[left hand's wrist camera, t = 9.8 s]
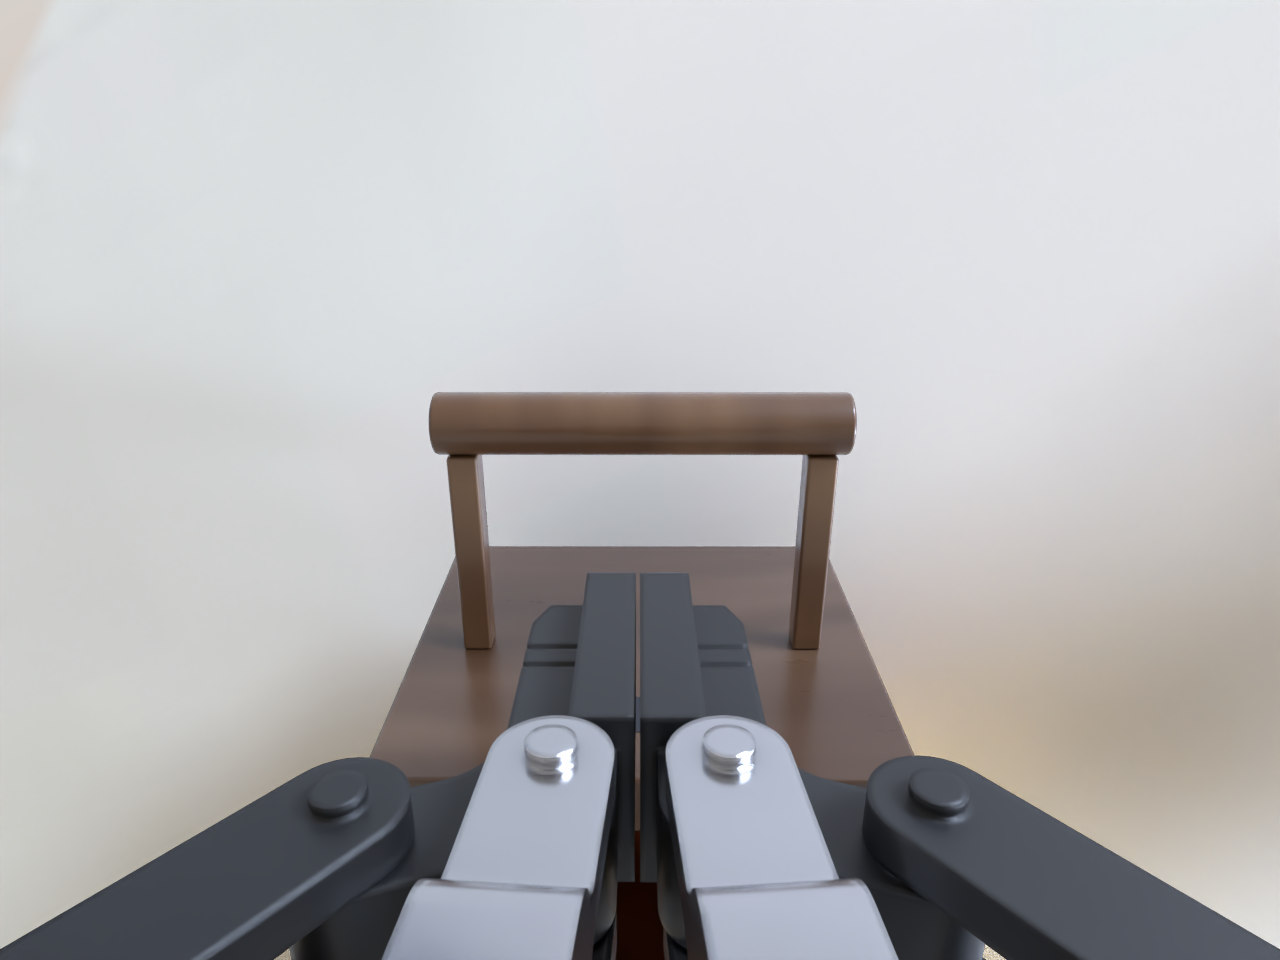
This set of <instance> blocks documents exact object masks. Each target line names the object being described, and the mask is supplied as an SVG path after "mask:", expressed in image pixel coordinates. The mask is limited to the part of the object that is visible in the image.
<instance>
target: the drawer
mask: <svg viewBox="0 0 1280 960" xmlns="http://www.w3.org/2000/svg"><path fill="white" fill-rule="evenodd" d="M856 427H857V417H856V407H855V403H854V399H853V397H852V395H851V394H849V393H693V392H438V393H435V394H434V395H433V397H432V400H431V404H430V409H429V435H430V441H431V445H432V448H433V450H434V452H435V453H437V454H439V455H449V456H448V458H447V470H448V480H449V491H450V501H451V512H452V522H453V533H454V543H455V554H456V557H455V559H454V561H453V564H452V566H451V568H450V571H449V573H448V575H447V578H446V580H445V582H444V585H443V587H442V589H441V592H440V594H439V596H438V599H437V601H436V603H435V606H434V608H433V610H432V613H431V615H430V617H429V620H428V622H427V624H426V627H425V629H424V632H423V634H422V636H421V639H420V641H419V643H418V646H417V648H416V650H415V653H414V655H413V657H412V660H411V662H410V664H409V667H408V669H407V671H406V674H405V676H404V678H403V681H402V683H401V685H400V688H399V690H398V692H397V695H396V697H395V699H394V702H393V704H392V706H391V709H390V711H389V713H388V716H387V718H386V720H385V723H384V725H383V727H382V730H381V732H380V734H379V737H378V739H377V741H376V744H375V746H374V748H373V751H372V753H371V755H370V758H374V759H380V760H383V761H386V762H389V763H391V764H393V765H395V766H397V767H398V768H399V769H400V770H401V771H402V772H403V773H404V774H405V776H406V777H407V779H408V782H409V784H410V787H415V786H419V785H423V784H428V783H432V782H437V781H441V780H445V779H448V778H452V777H455V776H458V775H460V774H463V773H465V772H467V771H469V770H471V769H473V768H475V767H477V766H478V765H480V764H481V763H483V762H484V761H485V760H486V757H487V755H488V752H489V750H490V748H491V746H492V744H493V743H494V741H495V740H496V739H497V738H498V737H499V736H500V735H501V734H502V733H503V732H504V731H506V730H507V728H508V723H509V719H510V715H511V711H512V707H513V702H514V698H515V694H516V690H517V685H518V681H519V677H520V673H521V669H522V667H523V660H524V656H525V652H526V649H527V643H528V639H529V635H530V631H531V626H532V623H533V622H534V621H535V620H536V619H537V618H538V617H539V616H540V615H541V614H542V613H543V612H544V611H545V610H546V609H547V608H548V607H549V606H550V605H583V599H584V592H585V584H586V577H587V572H636V754H635V882H617V905H616V914H617V948H616V956H615V960H665V956H664V948H663V925H662V923H661V920H660V917H659V913H658V898H657V882H640V572H688V573H689V579H690V587H691V596H692V604H693V605H725V606H726V607H727V608H728V609H729V610H730V611H731V612H732V613H733V614H734V615H735V616H736V617H737V618H738V619H739V620H740V621H741V622H742V623H743V624H744V628H745V633H746V637H747V642H748V649H749V651H750V655H751V659H752V667H753V668H754V673H755V677H756V681H757V686H758V690H759V695H760V699H761V703H762V708H763V712H764V717H765V721H766V725H767V726H768V727H770V728H771V729H773V730H774V731H776V732H777V733H778V734H779V735H780V736H781V737H782V738H783V739H784V740H785V741H786V743H787V744H788V746H789V748H790V750H791V752H792V755H793V757H794V760H795V763H796V765H797V767H798V768H800V769H802V770H804V771H806V772H808V773H811V774H813V775H816V776H818V777H821V778H825V779H828V780H832V781H836V782H840V783H845V784H849V785H853V786H858V787H862V788H866V789H867V782H868V780H869V777H870V775H871V774H872V772H873V771H874V770H875V769H876V768H877V767H878V766H879V765H881V764H883V763H884V762H886V761H888V760H891V759H895V758H898V757H904V756H914V753H913V751H912V749H911V746H910V744H909V742H908V739H907V737H906V735H905V733H904V730H903V728H902V726H901V723H900V721H899V719H898V716H897V714H896V712H895V710H894V707H893V705H892V703H891V700H890V698H889V696H888V694H887V691H886V689H885V687H884V684H883V682H882V680H881V677H880V675H879V673H878V671H877V668H876V666H875V664H874V661H873V659H872V657H871V654H870V652H869V650H868V648H867V645H866V643H865V641H864V638H863V636H862V634H861V632H860V629H859V627H858V625H857V622H856V620H855V618H854V615H853V613H852V611H851V609H850V606H849V604H848V602H847V599H846V597H845V595H844V592H843V590H842V588H841V586H840V583H839V581H838V579H837V576H836V574H835V572H834V569H833V567H832V565H831V563H830V560H829V552H830V542H831V532H832V522H833V512H834V502H835V491H836V481H837V471H838V461H839V460H838V458H837V456H836V455H847V454H849V453H850V452H851V451H852V449H853V446H854V442H855V437H856ZM482 455H803V462H802V475H801V487H800V499H799V511H798V523H797V536H796V547H544V546H489V541H488V528H487V515H486V503H485V490H484V477H483V464H482Z"/></svg>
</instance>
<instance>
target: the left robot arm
mask: <svg viewBox="0 0 1280 960" xmlns="http://www.w3.org/2000/svg"><path fill="white" fill-rule="evenodd" d="M635 754H636V572H587V577H586V584H585V592H584V599H583V605H550V606H549V607H548V608H547V609H546V610H545V611H544V612H543V613H542V614H541V615H540V616H539V617H538V618H537V619H536V620H535V621H534V622H533V623H532V626H531V631H530V635H529V639H528V643H527V649H526V652H525V656H524V660H523V667H522V669H521V673H520V677H519V681H518V685H517V690H516V694H515V698H514V702H513V707H512V711H511V715H510V719H509V723H508V728H507V730H506V731H504V732H503V733H502V734H501V735H500V736H499V737H498V738H497V739H496V740H495V741H494V743H493V744H492V746H491V748H490V750H489V752H488V755H487V757H486V760H485V761H484V762H483V763H481V764H480V765H478V766H477V767H475V768H473V769H471V770H469V771H467V772H465V773H463V774H460V775H458V776H455V777H452V778H448V779H445V780H441V781H437V782H432V783H428V784H423V785H419V786H415V787H410V784H409V782H408V779H407V777H406V776H405V774H404V773H403V772H402V771H401V770H400V769H399V768H398V767H397V766H395V765H393V764H391V763H389V762H386V761H383V760H380V759H374V758H362V757H357V758H346V759H340V760H335V761H332V762H328V763H325V764H322V765H319V766H317V767H314V768H312V769H310V770H308V771H306V772H304V773H302V774H300V775H299V776H297V777H295V778H294V779H292V780H290V781H288V782H287V783H285V784H283V785H282V786H280V787H278V788H276V789H275V790H273V791H271V792H270V793H268V794H266V795H264V796H263V797H261V798H259V799H258V800H256V801H254V802H252V803H251V804H249V805H247V806H245V807H244V808H242V809H240V810H239V811H237V812H235V813H233V814H232V815H230V816H228V817H227V818H225V819H223V820H221V821H220V822H218V823H216V824H215V825H213V826H211V827H209V828H208V829H206V830H204V831H203V832H201V833H199V834H197V835H196V836H194V837H192V838H191V839H189V840H187V841H185V842H184V843H182V844H180V845H179V846H177V847H175V848H173V849H172V850H170V851H168V852H167V853H165V854H163V855H161V856H160V857H158V858H156V859H155V860H153V861H151V862H149V863H148V864H146V865H144V866H143V867H141V868H139V869H137V870H136V871H134V872H132V873H130V874H129V875H127V876H125V877H124V878H122V879H120V880H118V881H117V882H115V883H113V884H112V885H110V886H108V887H106V888H105V889H103V890H101V891H100V892H98V893H96V894H94V895H93V896H91V897H89V898H88V899H86V900H84V901H82V902H81V903H79V904H77V905H76V906H74V907H72V908H70V909H69V910H67V911H65V912H64V913H62V914H60V915H58V916H57V917H55V918H53V919H52V920H50V921H48V922H46V923H45V924H43V925H41V926H40V927H38V928H36V929H34V930H33V931H31V932H29V933H27V934H26V935H24V936H22V937H21V938H19V939H17V940H15V941H14V942H12V943H10V944H9V945H7V946H5V947H3V948H2V949H0V960H274V959H275V958H276V957H278V956H279V955H280V954H282V953H283V952H284V951H286V950H287V949H288V948H289V949H290V954H291V959H292V960H615V956H616V948H617V914H616V905H617V882H635ZM640 882H657V898H658V913H659V917H660V920H661V923H662V925H663V948H664V956H665V960H986V959H984V958H983V952H984V947H985V944H986V945H988V946H989V947H990V948H992V949H993V950H994V951H996V952H997V953H998V954H1000V955H1001V956H1002V957H1004V958H1005V959H1006V960H1280V949H1278V948H1276V947H1275V946H1273V945H1271V944H1270V943H1268V942H1266V941H1264V940H1263V939H1261V938H1259V937H1258V936H1256V935H1254V934H1252V933H1251V932H1249V931H1247V930H1246V929H1244V928H1242V927H1240V926H1239V925H1237V924H1235V923H1234V922H1232V921H1230V920H1228V919H1227V918H1225V917H1223V916H1222V915H1220V914H1218V913H1216V912H1215V911H1213V910H1211V909H1210V908H1208V907H1206V906H1204V905H1203V904H1201V903H1199V902H1198V901H1196V900H1194V899H1192V898H1191V897H1189V896H1187V895H1186V894H1184V893H1182V892H1180V891H1179V890H1177V889H1175V888H1174V887H1172V886H1170V885H1168V884H1167V883H1165V882H1163V881H1161V880H1160V879H1158V878H1156V877H1155V876H1153V875H1151V874H1149V873H1148V872H1146V871H1144V870H1143V869H1141V868H1139V867H1137V866H1136V865H1134V864H1132V863H1131V862H1129V861H1127V860H1125V859H1124V858H1122V857H1120V856H1119V855H1117V854H1115V853H1113V852H1112V851H1110V850H1108V849H1107V848H1105V847H1103V846H1101V845H1100V844H1098V843H1096V842H1095V841H1093V840H1091V839H1089V838H1088V837H1086V836H1084V835H1083V834H1081V833H1079V832H1077V831H1076V830H1074V829H1072V828H1071V827H1069V826H1067V825H1065V824H1064V823H1062V822H1060V821H1059V820H1057V819H1055V818H1053V817H1052V816H1050V815H1048V814H1046V813H1045V812H1043V811H1041V810H1040V809H1038V808H1036V807H1034V806H1033V805H1031V804H1029V803H1028V802H1026V801H1024V800H1022V799H1021V798H1019V797H1017V796H1016V795H1014V794H1012V793H1010V792H1009V791H1007V790H1005V789H1004V788H1002V787H1000V786H998V785H997V784H995V783H993V782H992V781H990V780H988V779H986V778H985V777H983V776H981V775H980V774H978V773H976V772H974V771H972V770H970V769H968V768H967V767H965V766H962V765H960V764H957V763H955V762H952V761H948V760H945V759H941V758H935V757H930V756H904V757H898V758H895V759H891V760H888V761H886V762H884V763H883V764H881V765H879V766H878V767H877V768H876V769H875V770H874V771H873V772H872V774H871V775H870V777H869V780H868V782H867V789H866V788H862V787H858V786H853V785H849V784H845V783H840V782H836V781H832V780H828V779H825V778H821V777H818V776H816V775H813V774H811V773H808V772H806V771H804V770H802V769H800V768H798V767H797V765H796V763H795V760H794V757H793V755H792V752H791V750H790V748H789V746H788V744H787V743H786V741H785V740H784V739H783V738H782V737H781V736H780V735H779V734H778V733H777V732H776V731H774V730H773V729H771V728H770V727H768V726H767V725H766V721H765V717H764V712H763V708H762V703H761V699H760V695H759V690H758V686H757V681H756V677H755V673H754V668H753V667H752V659H751V655H750V651H749V649H748V642H747V637H746V633H745V628H744V624H743V623H742V622H741V621H740V620H739V619H738V618H737V617H736V616H735V615H734V614H733V613H732V612H731V611H730V610H729V609H728V608H727V607H726V606H725V605H693V604H692V596H691V587H690V579H689V573H688V572H640Z"/></svg>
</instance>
